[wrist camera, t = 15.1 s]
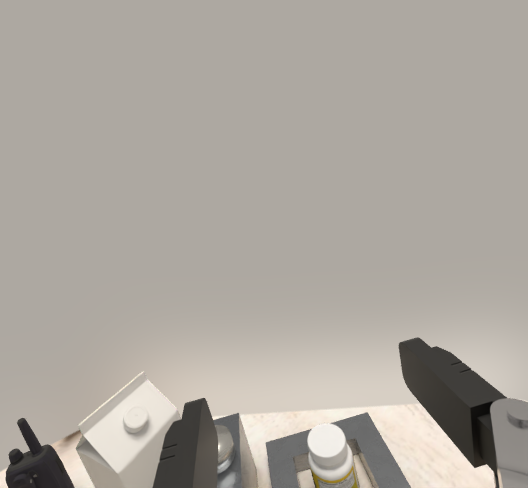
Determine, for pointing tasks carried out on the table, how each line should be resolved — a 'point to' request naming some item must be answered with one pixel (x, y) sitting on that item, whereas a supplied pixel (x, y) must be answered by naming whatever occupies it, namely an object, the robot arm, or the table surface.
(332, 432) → the supplement bottle
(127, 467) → the milk carton
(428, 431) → the table surface
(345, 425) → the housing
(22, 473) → the two-way radio
